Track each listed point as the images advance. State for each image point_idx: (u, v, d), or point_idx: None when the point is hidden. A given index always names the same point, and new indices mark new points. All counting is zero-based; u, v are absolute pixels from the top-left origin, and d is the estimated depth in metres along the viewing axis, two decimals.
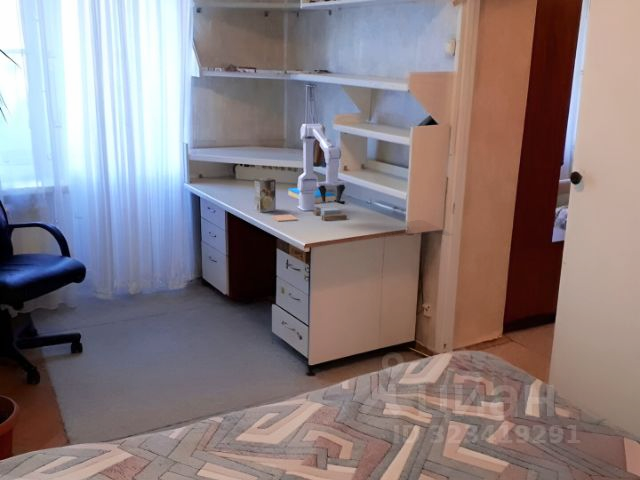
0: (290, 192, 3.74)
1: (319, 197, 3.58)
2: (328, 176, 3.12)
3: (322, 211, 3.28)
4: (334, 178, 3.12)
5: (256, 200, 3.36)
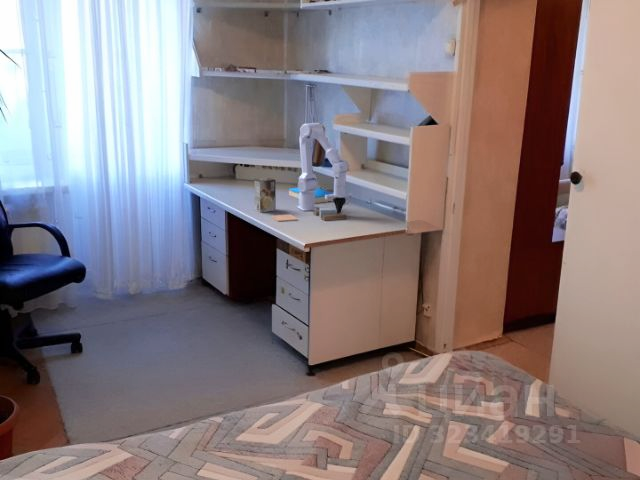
0: (291, 192, 3.74)
1: (320, 197, 3.59)
2: (336, 189, 3.25)
3: (320, 210, 3.28)
4: (342, 191, 3.25)
5: (256, 200, 3.36)
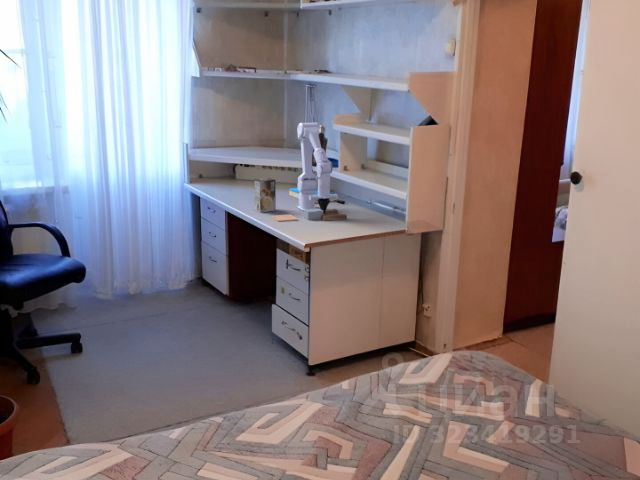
0: (291, 192, 3.74)
1: None
2: (320, 190, 3.22)
3: (306, 212, 3.23)
4: (326, 192, 3.22)
5: (256, 200, 3.36)
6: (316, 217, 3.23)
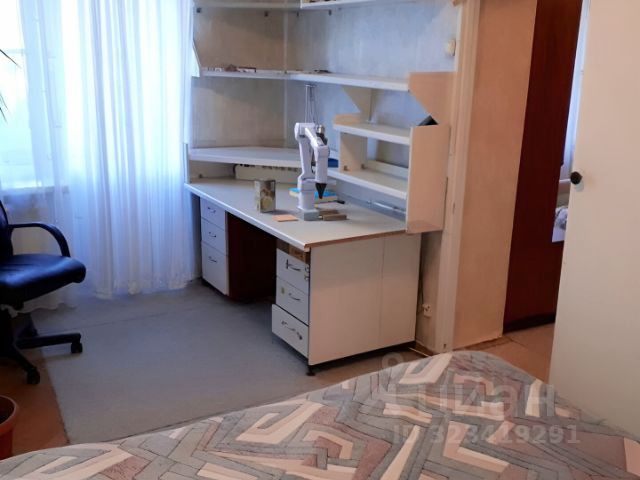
0: (292, 192, 3.74)
1: None
2: (316, 173, 3.21)
3: (301, 213, 3.22)
4: (320, 176, 3.19)
5: (256, 200, 3.36)
6: (312, 218, 3.23)
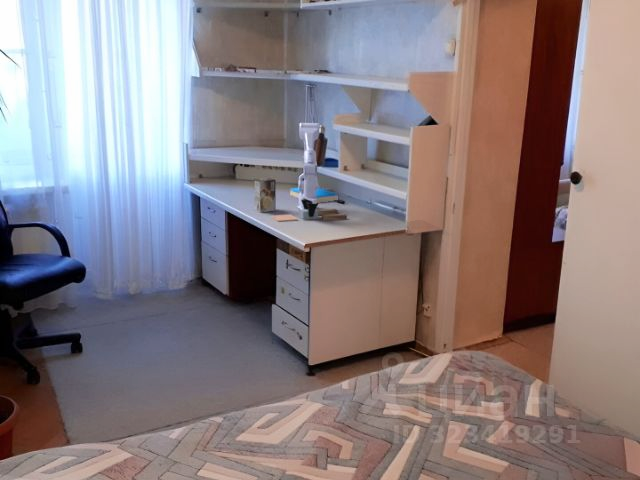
0: (292, 192, 3.75)
1: (322, 197, 3.59)
2: None
3: (301, 212, 3.23)
4: (304, 192, 3.21)
5: (256, 200, 3.36)
6: (311, 217, 3.23)
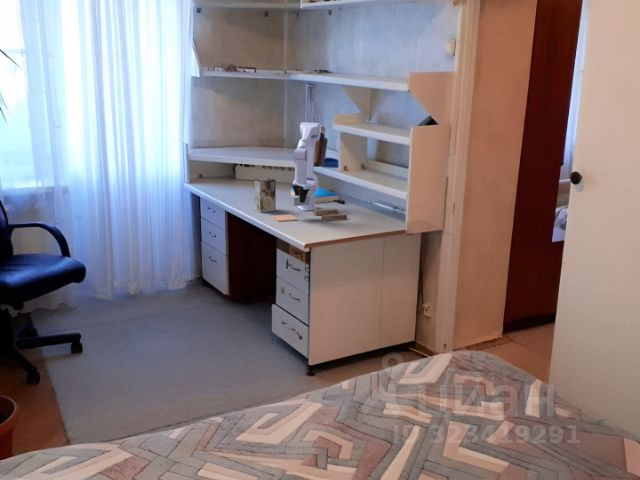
0: (292, 192, 3.75)
1: (322, 197, 3.60)
2: None
3: (292, 198, 3.20)
4: (295, 178, 3.18)
5: (256, 200, 3.36)
6: (302, 203, 3.20)
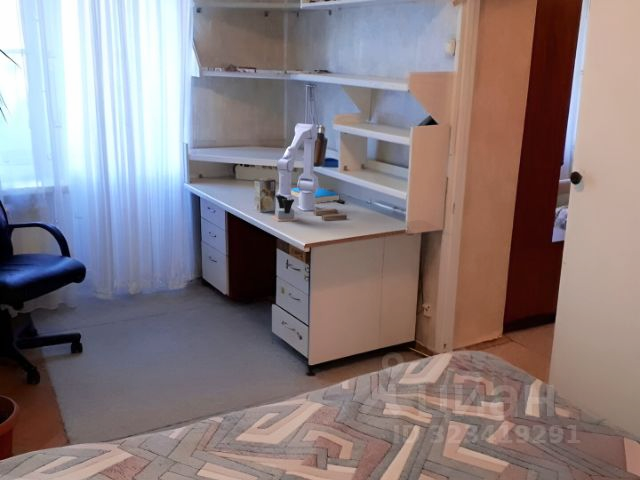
0: (293, 192, 3.75)
1: (323, 197, 3.60)
2: None
3: (276, 211, 3.21)
4: (279, 188, 3.18)
5: (256, 200, 3.36)
6: (287, 216, 3.21)
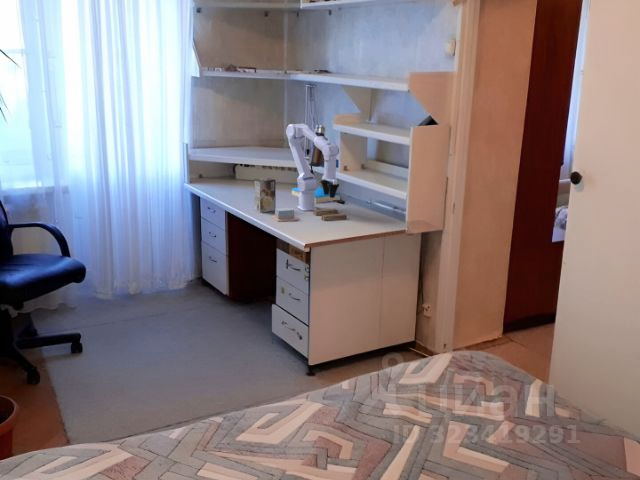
0: (294, 192, 3.75)
1: (324, 196, 3.60)
2: None
3: (276, 211, 3.21)
4: (324, 173, 3.27)
5: (256, 200, 3.36)
6: (287, 216, 3.21)
